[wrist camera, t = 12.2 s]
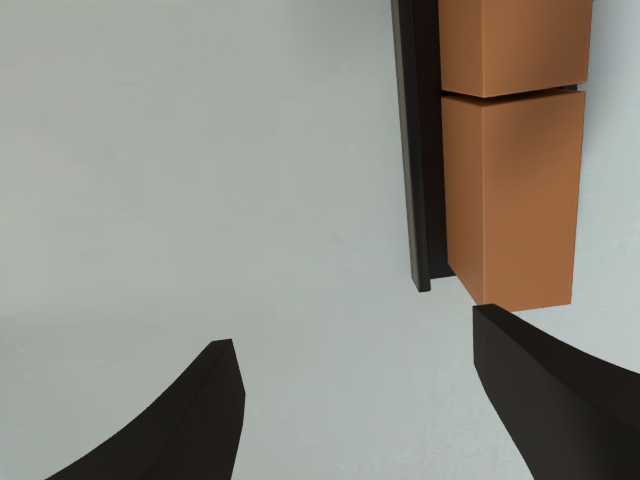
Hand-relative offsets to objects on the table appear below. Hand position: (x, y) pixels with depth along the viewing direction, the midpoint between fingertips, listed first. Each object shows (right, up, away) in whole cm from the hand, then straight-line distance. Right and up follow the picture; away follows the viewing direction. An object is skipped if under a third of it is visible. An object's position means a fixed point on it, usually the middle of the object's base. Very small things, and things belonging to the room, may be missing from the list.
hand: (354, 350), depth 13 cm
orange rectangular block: (+6, +6, +8) cm, 12 cm away
